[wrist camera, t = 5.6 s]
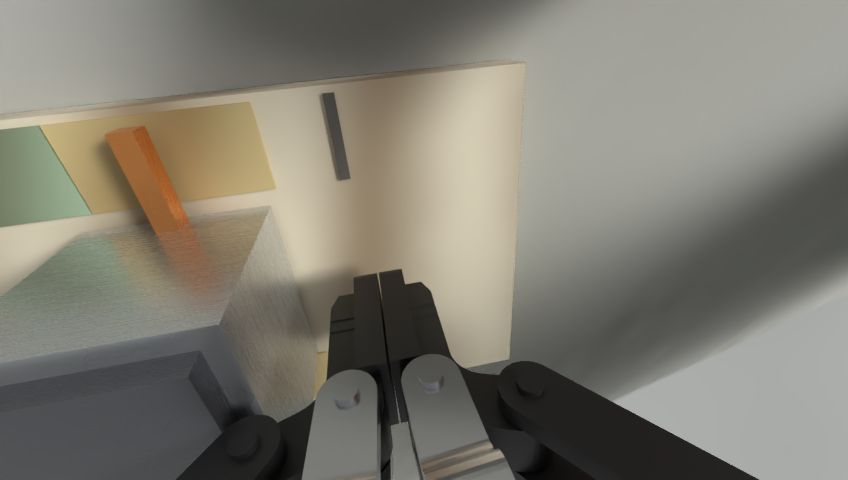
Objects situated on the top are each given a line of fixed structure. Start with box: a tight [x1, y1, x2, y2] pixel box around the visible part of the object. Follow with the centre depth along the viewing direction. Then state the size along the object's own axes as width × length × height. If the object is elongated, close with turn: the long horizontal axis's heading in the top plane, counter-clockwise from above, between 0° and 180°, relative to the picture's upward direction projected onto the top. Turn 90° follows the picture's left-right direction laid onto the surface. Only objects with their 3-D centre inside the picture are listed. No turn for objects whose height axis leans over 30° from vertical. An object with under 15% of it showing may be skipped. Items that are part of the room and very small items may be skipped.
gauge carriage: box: [0, 125, 318, 480], centre depth 9 cm, size 5×11×6 cm, turn 5°
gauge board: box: [0, 60, 526, 399], centre depth 10 cm, size 22×12×7 cm, turn 95°
